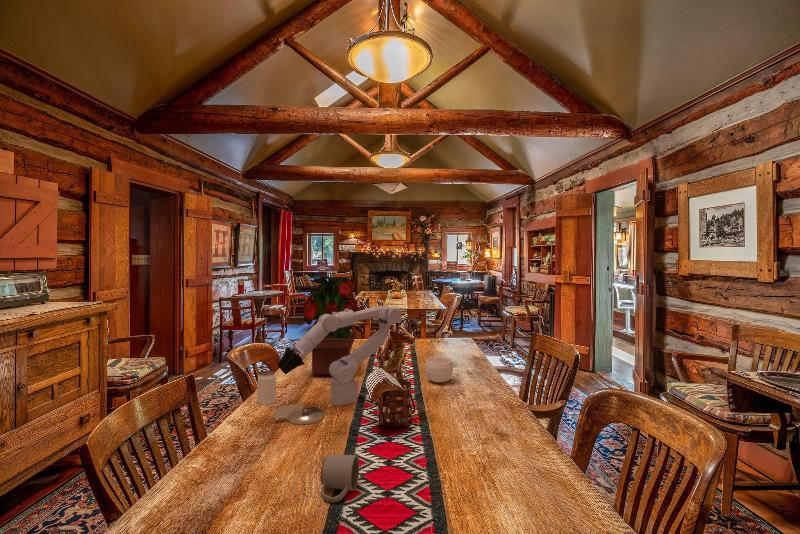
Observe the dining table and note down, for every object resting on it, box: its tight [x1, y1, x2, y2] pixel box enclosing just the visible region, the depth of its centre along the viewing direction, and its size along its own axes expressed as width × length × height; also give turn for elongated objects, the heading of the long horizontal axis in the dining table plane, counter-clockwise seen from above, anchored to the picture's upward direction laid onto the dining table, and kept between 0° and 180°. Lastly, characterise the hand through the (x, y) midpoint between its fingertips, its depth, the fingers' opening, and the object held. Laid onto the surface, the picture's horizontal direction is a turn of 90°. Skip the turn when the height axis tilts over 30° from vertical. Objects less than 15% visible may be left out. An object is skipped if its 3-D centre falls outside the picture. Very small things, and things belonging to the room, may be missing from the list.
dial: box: [274, 403, 325, 426], centre depth 135 cm, size 16×12×5 cm
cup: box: [424, 356, 454, 384], centre depth 179 cm, size 12×12×10 cm
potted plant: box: [303, 275, 359, 378], centre depth 189 cm, size 22×22×45 cm
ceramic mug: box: [319, 454, 360, 503], centre depth 97 cm, size 11×8×8 cm
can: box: [257, 370, 277, 406], centre depth 149 cm, size 6×6×12 cm
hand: (281, 369), depth 139 cm, fingers open, 7 cm apart
